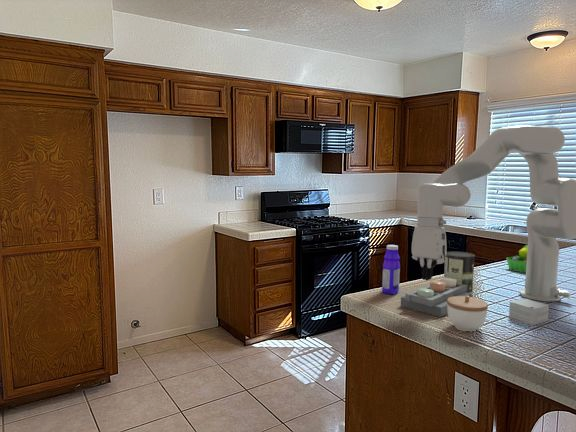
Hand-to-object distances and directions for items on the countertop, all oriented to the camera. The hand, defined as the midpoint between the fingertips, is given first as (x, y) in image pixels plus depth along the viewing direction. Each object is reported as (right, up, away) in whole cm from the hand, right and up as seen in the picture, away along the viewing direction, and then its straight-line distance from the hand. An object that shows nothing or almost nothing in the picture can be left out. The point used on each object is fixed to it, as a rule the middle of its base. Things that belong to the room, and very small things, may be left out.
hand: (426, 279), depth 136 cm
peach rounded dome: (+5, -5, +6) cm, 9 cm away
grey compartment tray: (+5, -9, +6) cm, 12 cm away
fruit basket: (+61, -4, +55) cm, 82 cm away
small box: (+28, -11, -7) cm, 31 cm away
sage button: (0, -7, 0) cm, 7 cm away
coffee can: (+18, -8, +21) cm, 29 cm away
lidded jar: (+6, -12, -15) cm, 20 cm away
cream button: (+11, -5, +11) cm, 16 cm away
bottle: (-7, -8, +19) cm, 22 cm away
